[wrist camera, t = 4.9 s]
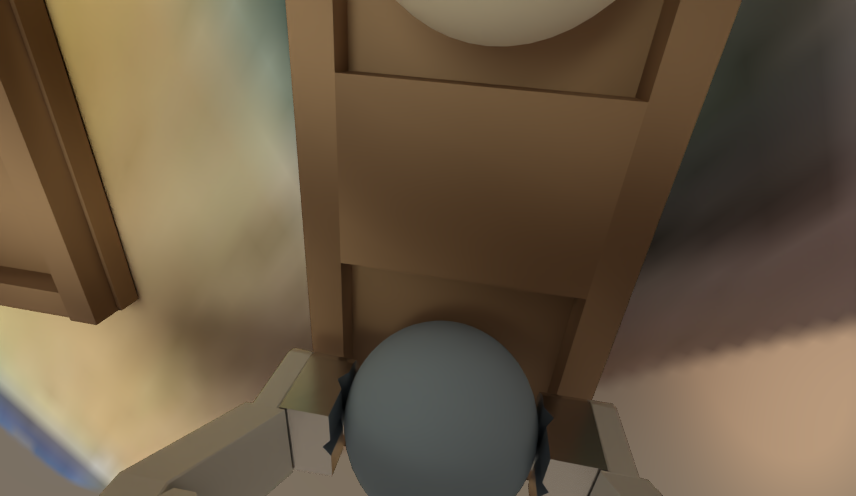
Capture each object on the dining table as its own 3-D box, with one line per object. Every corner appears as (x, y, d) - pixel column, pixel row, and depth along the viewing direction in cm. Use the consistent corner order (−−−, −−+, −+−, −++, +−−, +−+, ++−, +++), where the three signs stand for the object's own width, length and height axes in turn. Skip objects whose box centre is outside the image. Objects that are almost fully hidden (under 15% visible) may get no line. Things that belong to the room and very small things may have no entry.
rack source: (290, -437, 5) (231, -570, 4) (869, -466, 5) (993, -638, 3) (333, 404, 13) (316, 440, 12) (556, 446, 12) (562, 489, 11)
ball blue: (546, 299, 9) (576, 463, 5) (515, 419, 11) (523, 599, 7) (375, 274, 9) (302, 410, 6) (373, 393, 11) (317, 552, 8)
